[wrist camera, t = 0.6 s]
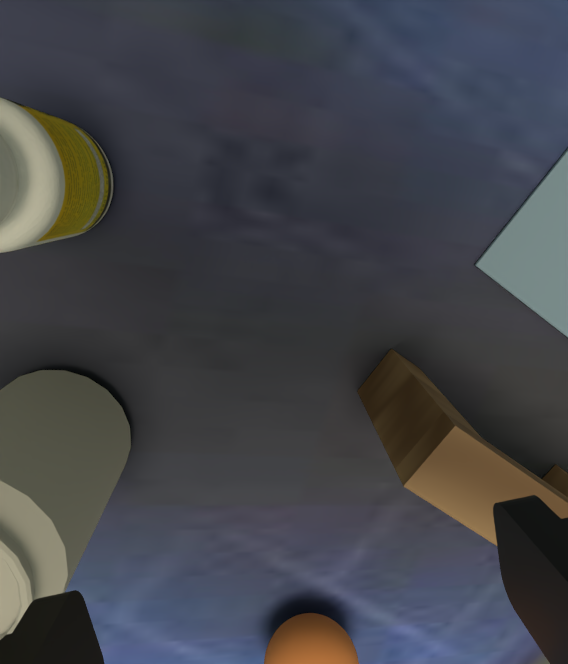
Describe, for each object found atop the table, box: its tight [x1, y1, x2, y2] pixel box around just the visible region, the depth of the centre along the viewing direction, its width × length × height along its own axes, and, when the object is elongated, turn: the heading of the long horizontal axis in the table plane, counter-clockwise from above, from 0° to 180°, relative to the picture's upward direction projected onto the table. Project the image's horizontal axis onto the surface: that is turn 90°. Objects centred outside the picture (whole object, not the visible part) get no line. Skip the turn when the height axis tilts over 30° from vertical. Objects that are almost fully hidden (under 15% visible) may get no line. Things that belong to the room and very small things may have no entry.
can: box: [0, 370, 131, 640], centre depth 22 cm, size 8×8×12 cm
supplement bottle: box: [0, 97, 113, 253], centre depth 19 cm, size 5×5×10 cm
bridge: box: [357, 349, 568, 546], centre depth 25 cm, size 3×14×9 cm, turn 54°
